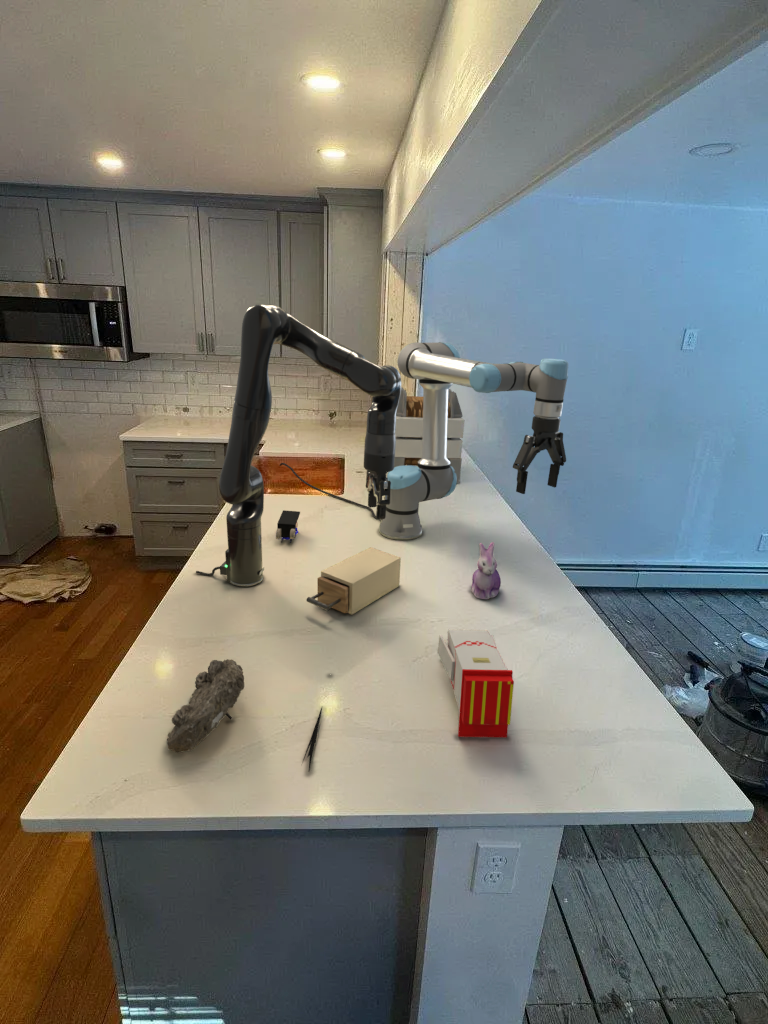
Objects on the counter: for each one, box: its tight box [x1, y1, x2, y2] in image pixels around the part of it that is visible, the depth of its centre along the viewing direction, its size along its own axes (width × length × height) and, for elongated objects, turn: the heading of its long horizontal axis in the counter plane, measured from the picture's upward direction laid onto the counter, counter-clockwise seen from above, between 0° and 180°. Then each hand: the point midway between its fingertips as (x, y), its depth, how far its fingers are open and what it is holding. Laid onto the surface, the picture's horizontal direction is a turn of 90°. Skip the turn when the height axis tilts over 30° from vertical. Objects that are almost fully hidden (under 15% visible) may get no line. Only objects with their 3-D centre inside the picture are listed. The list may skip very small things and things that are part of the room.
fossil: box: [166, 658, 245, 754], centre depth 106 cm, size 22×10×15 cm
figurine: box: [470, 541, 502, 600], centre depth 158 cm, size 9×10×15 cm
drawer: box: [305, 576, 349, 614], centre depth 151 cm, size 26×10×7 cm, turn 143°
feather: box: [301, 673, 332, 771], centre depth 108 cm, size 2×28×2 cm
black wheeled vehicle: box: [275, 509, 301, 544], centre depth 191 cm, size 7×8×15 cm
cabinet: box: [320, 547, 402, 616], centre depth 156 cm, size 21×11×9 cm, turn 143°
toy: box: [437, 628, 515, 738], centre depth 117 cm, size 12×13×30 cm
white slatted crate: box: [394, 386, 465, 484], centre depth 268 cm, size 34×33×41 cm
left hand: (376, 512), depth 143 cm, fingers open, 8 cm apart
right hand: (536, 489), depth 165 cm, fingers open, 13 cm apart
